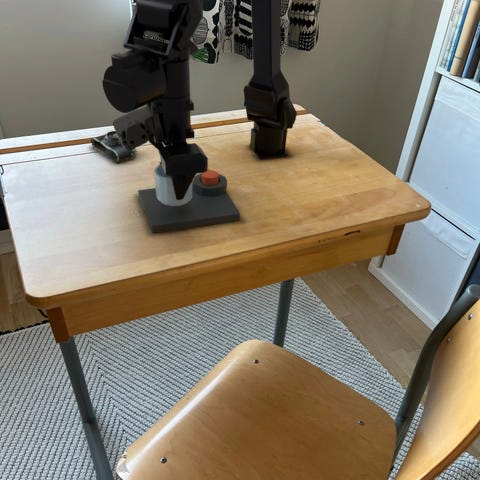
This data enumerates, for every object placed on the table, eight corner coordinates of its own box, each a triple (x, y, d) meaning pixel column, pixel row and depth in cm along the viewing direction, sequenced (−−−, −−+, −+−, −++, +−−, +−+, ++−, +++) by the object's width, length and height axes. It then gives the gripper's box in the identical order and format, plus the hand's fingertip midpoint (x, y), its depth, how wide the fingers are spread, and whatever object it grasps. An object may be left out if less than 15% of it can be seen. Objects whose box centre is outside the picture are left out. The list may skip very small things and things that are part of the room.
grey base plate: (220, 185, 96) (221, 170, 94) (242, 220, 87) (243, 204, 85) (138, 195, 91) (136, 180, 89) (152, 233, 83) (150, 217, 81)
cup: (187, 187, 88) (186, 159, 85) (196, 204, 84) (196, 176, 81) (153, 191, 86) (150, 163, 83) (160, 209, 82) (158, 181, 79)
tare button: (215, 177, 92) (215, 169, 91) (220, 184, 90) (220, 176, 89) (199, 179, 92) (199, 170, 91) (204, 186, 90) (204, 178, 88)
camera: (112, 140, 108) (110, 120, 105) (139, 158, 102) (138, 137, 100) (90, 146, 105) (87, 126, 102) (117, 165, 100) (115, 144, 97)
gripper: (104, 74, 78) (116, 169, 88) (124, 121, 65) (136, 226, 76) (175, 69, 81) (179, 162, 91) (208, 114, 68) (208, 216, 79)
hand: (174, 189), depth 84 cm, fingers closed on cup, 6 cm apart
